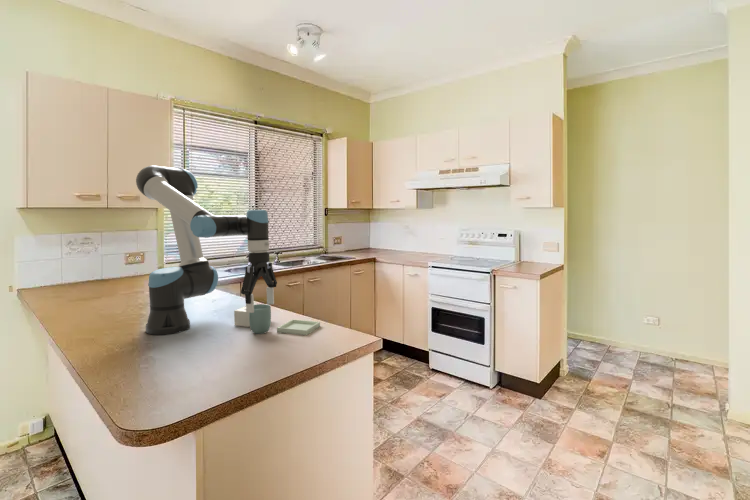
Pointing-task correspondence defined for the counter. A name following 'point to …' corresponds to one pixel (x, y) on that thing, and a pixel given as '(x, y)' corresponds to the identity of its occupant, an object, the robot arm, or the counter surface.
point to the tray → (298, 327)
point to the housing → (241, 317)
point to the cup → (260, 318)
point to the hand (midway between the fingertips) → (260, 308)
